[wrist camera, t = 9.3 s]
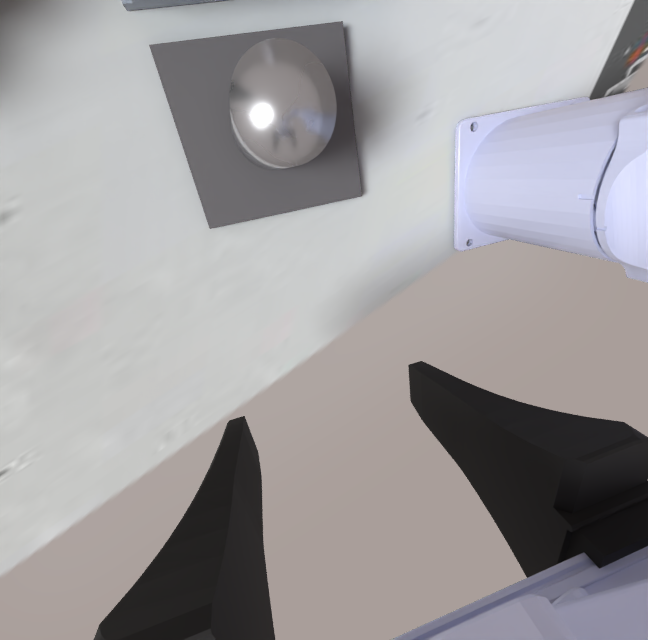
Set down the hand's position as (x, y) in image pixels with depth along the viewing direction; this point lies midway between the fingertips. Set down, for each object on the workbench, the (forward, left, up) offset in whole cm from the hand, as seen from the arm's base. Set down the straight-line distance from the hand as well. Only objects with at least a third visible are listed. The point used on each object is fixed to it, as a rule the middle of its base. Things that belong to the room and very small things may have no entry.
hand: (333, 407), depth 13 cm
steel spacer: (-1, -11, -9) cm, 14 cm away
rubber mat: (-1, -11, -9) cm, 15 cm away
